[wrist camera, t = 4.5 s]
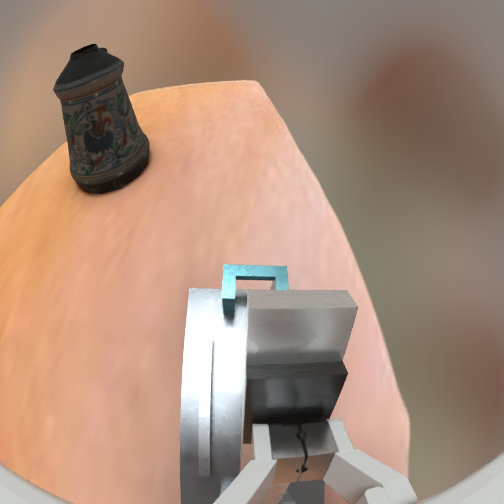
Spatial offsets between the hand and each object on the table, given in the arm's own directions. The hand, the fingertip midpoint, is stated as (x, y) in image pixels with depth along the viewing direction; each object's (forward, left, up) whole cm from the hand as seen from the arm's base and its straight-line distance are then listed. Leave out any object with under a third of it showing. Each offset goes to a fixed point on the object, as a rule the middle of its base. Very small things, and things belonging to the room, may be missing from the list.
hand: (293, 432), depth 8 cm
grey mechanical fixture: (0, +1, -22) cm, 22 cm away
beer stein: (-28, +42, -22) cm, 55 cm away
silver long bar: (0, -2, -6) cm, 7 cm away
